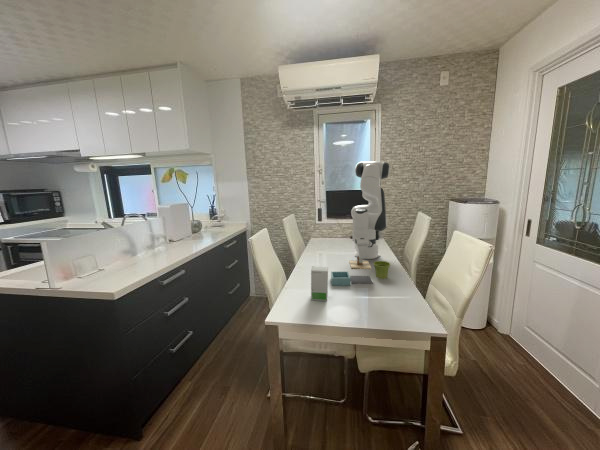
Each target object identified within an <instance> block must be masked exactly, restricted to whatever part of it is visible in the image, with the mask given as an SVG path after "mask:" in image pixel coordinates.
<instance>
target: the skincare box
mask: <svg viewBox="0 0 600 450" xmlns="http://www.w3.org/2000/svg"><path fill="white" fill-rule="evenodd" d="M310 272H311V273H310V282H311V283H310V300H311V301H320V302H328V295H329V293H328V291H329V288H328V284H329V278H328V277H329V267H328V266H317V265H316V266H315V265H314V266H311V270H310Z"/></svg>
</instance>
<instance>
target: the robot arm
mask: <svg viewBox="0 0 600 450" xmlns="http://www.w3.org/2000/svg"><path fill="white" fill-rule="evenodd" d="M354 172H355V176H356V177H358V178H360V182H359V183H360V190H361V192H362V195H361V196H362V198H363V199H364V200H365V201H367V202H368V204H361V205H355V206H352V209H351V211H350V214H351V217H352V242H354V249H355V251H354V257H356V258H357V256H359V263H362V260H363V261H364V260H365V259H366V260H371V259H376V258H379V257H381V254H380V253H379V245H378V244H377V238H376V236H377V235H376V231H377V232H383V231H384V230H386V229H387V227H388V224H389V221H388V217H387V211H386V196H385V191H384V189H383V187H381V185H380V184H381V183H380V182H381V181H380V180H384V179H387V178H388V177H389V175H390V173H391V166H390V164H389V163H388V162H385V161H359V162H358V163H357V164H356V165H355V169H354Z"/></svg>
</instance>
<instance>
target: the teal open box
mask: <svg viewBox="0 0 600 450" xmlns="http://www.w3.org/2000/svg"><path fill="white" fill-rule="evenodd" d="M350 276H351V275H350V272H349V271H344V270H343V271H341V270H340V271H338V270H337V271H330V281H331V286H332V287H335V286H337V287H338V286H339V287H341V286H343V287H351V281H350Z"/></svg>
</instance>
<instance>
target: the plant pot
mask: <svg viewBox="0 0 600 450" xmlns="http://www.w3.org/2000/svg"><path fill="white" fill-rule="evenodd" d="M373 265H374V270H375V277H376V278H378V279H387V278H388V275H389V274H388V273H389V268H390V266H391V263H390V262H388V261H385V260H378V261H377V260H376V261H374V262H373Z"/></svg>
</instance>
